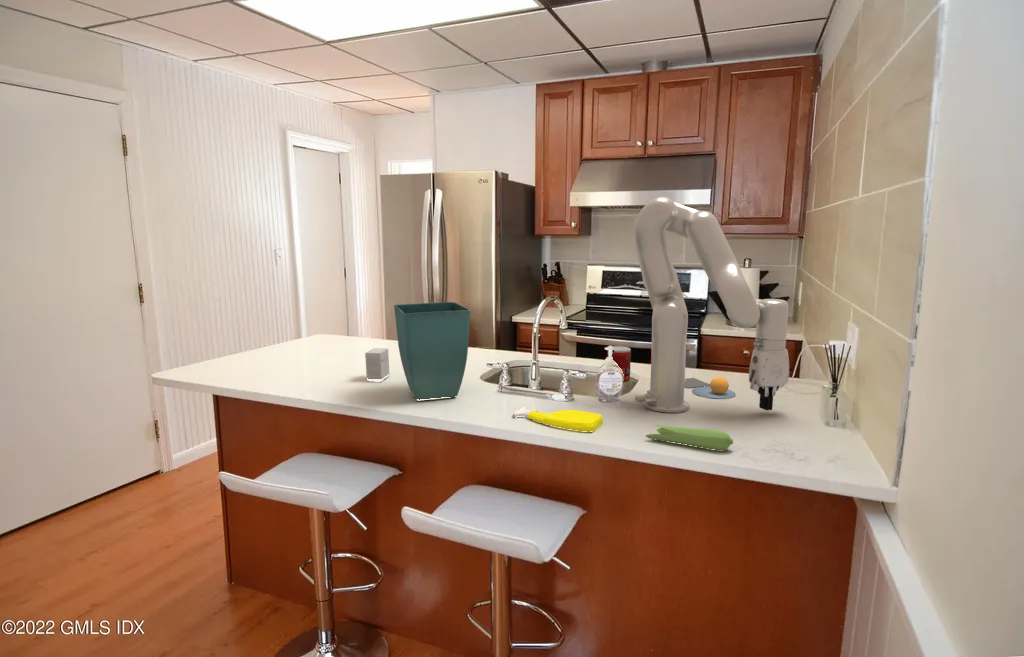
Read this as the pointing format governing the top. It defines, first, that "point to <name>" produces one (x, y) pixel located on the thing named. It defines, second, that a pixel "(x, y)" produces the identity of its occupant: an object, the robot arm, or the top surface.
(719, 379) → the ball
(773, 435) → the top surface
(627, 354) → the canned food
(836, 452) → the top surface
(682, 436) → the edible corn
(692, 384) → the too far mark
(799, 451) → the top surface
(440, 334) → the flower pot
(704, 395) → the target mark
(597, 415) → the spray bottle
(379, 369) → the small box
